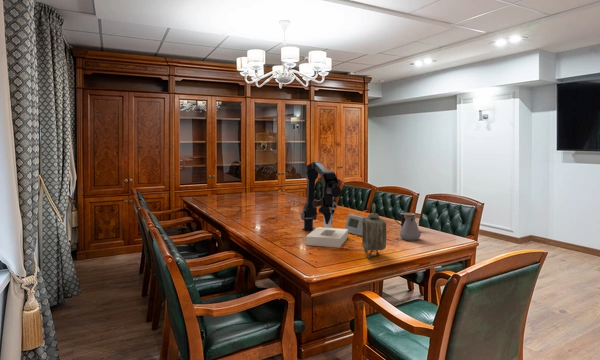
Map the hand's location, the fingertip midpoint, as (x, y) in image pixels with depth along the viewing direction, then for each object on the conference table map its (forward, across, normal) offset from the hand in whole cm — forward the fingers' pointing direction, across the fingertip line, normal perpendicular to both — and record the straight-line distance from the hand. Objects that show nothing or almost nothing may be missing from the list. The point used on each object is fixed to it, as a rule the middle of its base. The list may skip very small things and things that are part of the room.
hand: (328, 223), depth 204 cm
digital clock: (+10, -22, +12) cm, 27 cm away
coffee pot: (+10, -13, +43) cm, 46 cm away
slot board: (+10, 0, 0) cm, 10 cm away
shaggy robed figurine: (+10, +21, +27) cm, 36 cm away
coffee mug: (+10, -43, +39) cm, 59 cm away
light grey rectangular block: (+2, 0, 0) cm, 2 cm away
